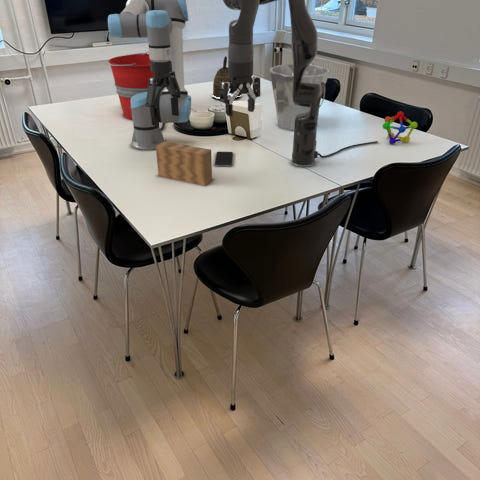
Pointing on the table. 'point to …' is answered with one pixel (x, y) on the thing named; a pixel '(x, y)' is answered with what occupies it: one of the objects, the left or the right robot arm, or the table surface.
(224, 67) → the bell
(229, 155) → the smartphone
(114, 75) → the bucket
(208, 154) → the box
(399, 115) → the educational toy
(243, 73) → the right robot arm
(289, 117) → the bucket
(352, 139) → the table surface
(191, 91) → the table surface
